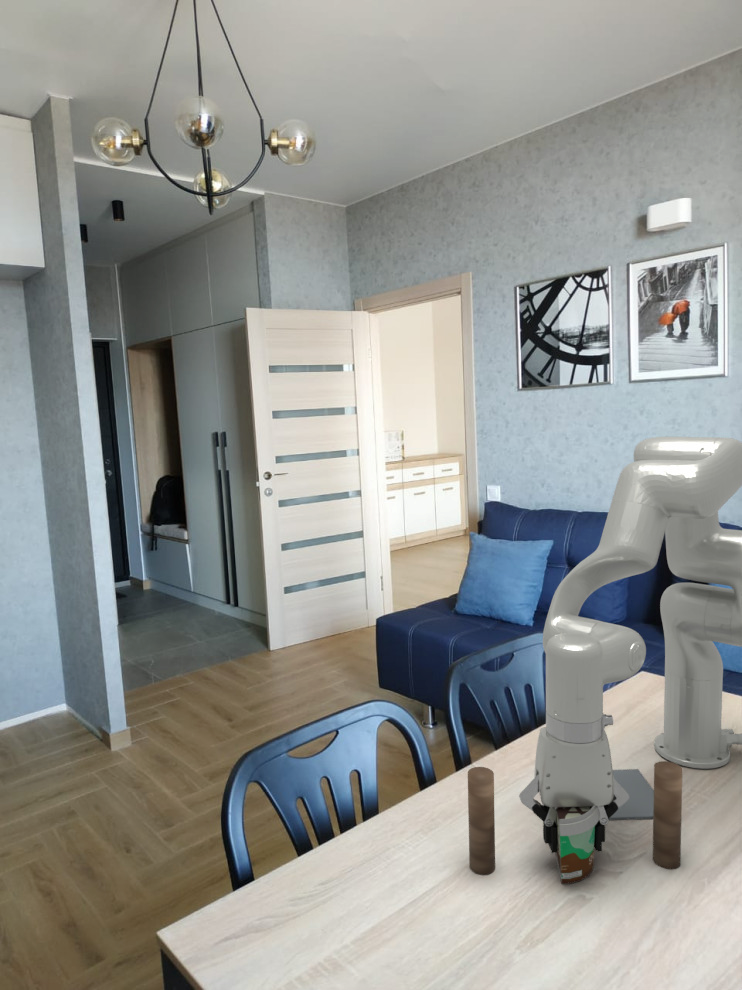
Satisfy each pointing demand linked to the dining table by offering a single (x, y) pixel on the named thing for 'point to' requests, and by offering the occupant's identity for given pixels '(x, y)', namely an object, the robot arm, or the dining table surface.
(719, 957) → the dining table surface
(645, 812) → the charcoal mat
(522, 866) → the dining table surface
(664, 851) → the walnut post
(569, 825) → the food container
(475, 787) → the walnut post
